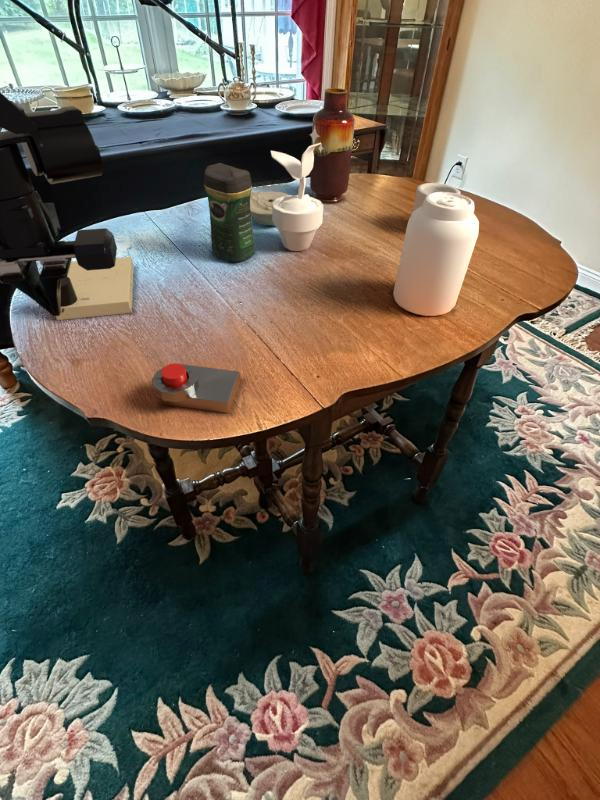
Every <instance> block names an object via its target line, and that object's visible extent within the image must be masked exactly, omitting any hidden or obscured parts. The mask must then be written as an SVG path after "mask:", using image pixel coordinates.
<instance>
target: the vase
mask: <svg viewBox="0 0 600 800" xmlns="http://www.w3.org/2000/svg"><path fill="white" fill-rule="evenodd" d="M323 94H324V95H323V107H322V108H320V109H319V110H317V112H315V114H314V116H313V118H312V132H311V134H312V133H313V131H314V127H315V129H316V133H317V135H319V136H320V137H317V138H316V139H315V142H314V144H318V143H321V144H320V145H321V146H322V148H324V149H322V150H321V152H320V150H319V147H320V145H317V146H315V148H314V151H313V153H314V163H313V168H312V170H311V172H310V173H309V176H310V177H309V188H310V190H311V191H312V192H313V193H312V197H313V198H315V199H317V200H319V201H321V203H322V204H338V203H340V202H343V200H344V195H343V194H346V192H347V191H348V189H349V182H350V180H349V179H350V174H351V173H350V171H351V162H352V154H353V143H354V135H355V123H356V120H355V116H354V115H353V113H352V112H350V111H349V110H348V109H347V104H348V103H347V102H348V90H347V89H345V88H339V87H328V88H325V89H324V93H323ZM311 145H313V139H312V138H311Z"/></svg>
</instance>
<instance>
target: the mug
mask: <svg viewBox="0 0 600 800" xmlns="http://www.w3.org/2000/svg"><path fill="white" fill-rule="evenodd" d="M435 192H452V193H457V194H461V190H460V189H458V188H457V187H455V186H453V185H450V184H446V183H440V182H426V183H422V184H420V185H418V186H417V187H416V190H415V198H414V203H413V207H412V211H411V214H412V213H413V211H415V210H416V209H418V208H419V207H421V206H422V205H423V202H424V199H425V198H426V196H427V195H429V194H431V193H435ZM461 195H462V194H461Z"/></svg>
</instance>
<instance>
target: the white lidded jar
mask: <svg viewBox="0 0 600 800" xmlns="http://www.w3.org/2000/svg"><path fill="white" fill-rule="evenodd" d="M412 211H413V210H412ZM479 227H480V220H479V219H478V217H477V216H476V215H475V202H474V200H473V199H471V198H470V197H468V196H467V195H463V194H457V193H452V192H435V193H431V194H429V195H427V196H426V198H425V199H424V202H423V205H422V206H421V207H419V208H418V209H416V210H415V211H413V213H412V212H411V215H410V217H409V219H408V222H407V225H406V229H405V233H404V234H405V235H404V239H403V244H402V249H401V254H400V259H399V263H398V268H397V272H396V278H395V283H394V288H393V291H392V292H393V293H392V294H393V298H394V301H395V303H396V304H397V305H398V306H399V307H400V308H402V309H404V310H405V311H407V312H410V313H413V314H414V315H415V314H416V315H421V316H425V317H429V316H430V317H436V316H442V315H443V316H444V315H445V314H447V313H449V312H451V311H452V310H453V308H454V307H455V306H456V305H457V301H458V299H459V295H460V292H461V288H462V286H463V282H464V280H465V277H466V274H467V271H468V268H469V266H470V265H469V264H470V262H471V258H472V255H473V252H474V249H475V246H476V243H477V240H478V237H479V231H480V230H479V229H480V228H479Z"/></svg>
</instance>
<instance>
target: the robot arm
mask: <svg viewBox="0 0 600 800" xmlns="http://www.w3.org/2000/svg"><path fill="white" fill-rule="evenodd" d="M0 128H1V129H4V130H3V131H0V283H1V284H8V285H11V286H12V287H14V288H15V289H17V290H18V291H20V292H22V293H23V294H24V295H26V296H27V297H29V298H30V299H31V300H32V301H34V302H35V303H37V304H38V305H39V306H40V307H41V308H43V309H44V310H45V311H46V312H47V313H49V314H50V315H51V316H52V317H56V316H60V313H61V291H60V283H61V279H64V278H66V277H67V275H68V272H69V268H70V264H71V262H72V261H73V260H72V259H75V261H77V263H78V265H79V266H81V267H82V268H84V269H86V270H87V271H88V270H100V269H110V268H112V267H114V266H115V261H116V258H117V252H118V246H117V242H116V240H115V236H114V234H113V232H112V231H110V230H109V229H108V228H106V227H104V228H91V229H89V228H88V229H78V230H77V232H76V235H75V239H74V240H67V241H65V240H54V238H57V237H58V234H59V231H58V230H61V225H60V221H59V218H58V214H57V211H56V207H55V202H44V201H43V200H42V197H41V195H40V194H39V191H38V190H35V187H34V185H33V182H32V179H31V176H30V174H29V171H28V168H27V166H26V164H25V161H24V158H23V156H22V153H21V150H20V148H19V147H20V146H19V145H18V144H21V147H22V149H23V153H24V155H25V158H26V160H27V162H28V164H29V166H30V169H31V170H32V172H33V174H34V175H35V176H36V177H39V176H42V175H44V177H45V179H46V180H47V182H48V183H49V184H50V185H55V184H61V183H67V182H72V181H77V180H82V179H83V180H84V179H89V178H94V177H99V176H100V177H101V176H102V175H103V172H104V166H103V161H102V156H101V152H100V149H99V147H98V145H96V142H95V139H94V137H93V135H92V133H91V131H90V129H89V126H88V125H87V123H86V122H85V119H84V115H83V112H82V110H81V109H79V108H78V107H76V106H74V105H71V106H70V105H69V106H63V107H62V106H61V107H60V108H57V109H53V110H45V111H43V110H42V111H34V112H33V111H32V112H25V109H24V108H23V107H22V106H21V105H18V103H16V102H15V101H13V100H10V99H9V98H7V97H6V96H5V95H4V94H3V93H2V92H1V91H0ZM5 130H6V131H5ZM37 262H39V263H40V265H41V266H42V268H41V270H40V271H39V267H38V263H37Z"/></svg>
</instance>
